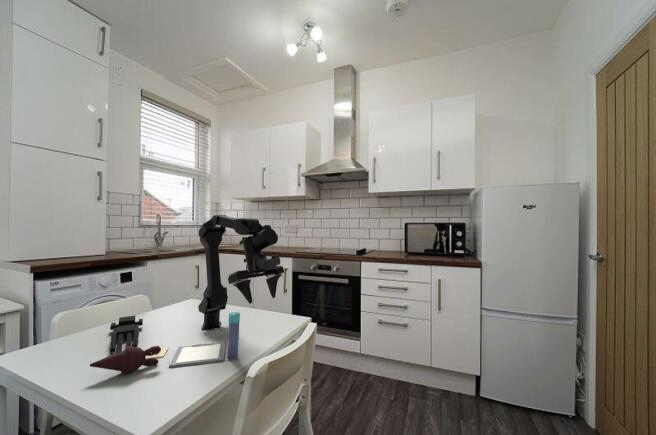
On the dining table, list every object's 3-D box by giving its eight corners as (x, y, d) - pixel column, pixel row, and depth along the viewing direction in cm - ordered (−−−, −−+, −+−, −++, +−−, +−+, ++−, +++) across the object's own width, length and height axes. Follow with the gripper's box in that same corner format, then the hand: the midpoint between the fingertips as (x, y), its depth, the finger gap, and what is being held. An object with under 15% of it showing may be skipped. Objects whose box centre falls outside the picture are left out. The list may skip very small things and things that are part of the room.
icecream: (88, 362, 64) (162, 352, 72) (94, 343, 70) (161, 336, 78) (84, 388, 65) (158, 376, 73) (90, 367, 71) (157, 358, 79)
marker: (227, 356, 82) (229, 312, 82) (238, 354, 83) (240, 311, 83) (226, 361, 79) (228, 315, 79) (238, 359, 80) (240, 315, 80)
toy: (142, 362, 79) (142, 326, 104) (142, 346, 79) (143, 314, 104) (100, 371, 74) (110, 331, 98) (100, 354, 74) (111, 318, 98)
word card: (154, 349, 84) (154, 348, 84) (168, 348, 86) (168, 347, 86) (147, 358, 79) (147, 357, 79) (163, 357, 80) (163, 355, 80)
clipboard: (178, 348, 86) (178, 344, 86) (225, 344, 90) (225, 340, 90) (168, 367, 74) (169, 362, 74) (223, 361, 79) (223, 356, 79)
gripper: (243, 247, 79) (253, 301, 75) (289, 245, 94) (300, 290, 90) (223, 258, 85) (231, 308, 81) (269, 254, 100) (278, 297, 96)
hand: (262, 300), depth 87 cm, fingers open, 9 cm apart
